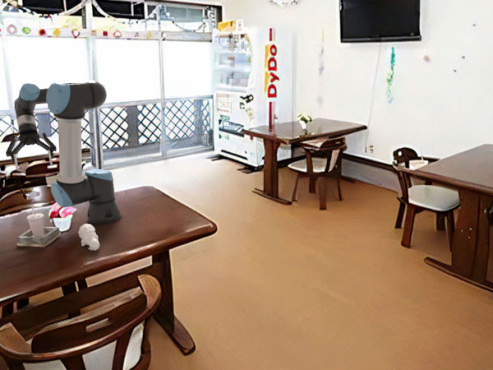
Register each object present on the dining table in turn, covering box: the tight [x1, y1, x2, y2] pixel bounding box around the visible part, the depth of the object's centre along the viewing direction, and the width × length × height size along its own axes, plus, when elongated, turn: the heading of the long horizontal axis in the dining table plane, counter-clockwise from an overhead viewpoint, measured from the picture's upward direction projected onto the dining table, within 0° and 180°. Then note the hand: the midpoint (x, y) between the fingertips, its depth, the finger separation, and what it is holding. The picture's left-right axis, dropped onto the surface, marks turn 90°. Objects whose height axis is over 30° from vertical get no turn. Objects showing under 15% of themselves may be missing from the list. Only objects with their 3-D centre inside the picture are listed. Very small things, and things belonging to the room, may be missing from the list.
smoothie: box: [26, 205, 45, 237], centre depth 173 cm, size 6×6×14 cm
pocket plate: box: [16, 226, 62, 248], centre depth 175 cm, size 12×12×4 cm
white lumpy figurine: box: [78, 223, 101, 251], centre depth 167 cm, size 6×8×12 cm
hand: (34, 166), depth 185 cm, fingers open, 13 cm apart
